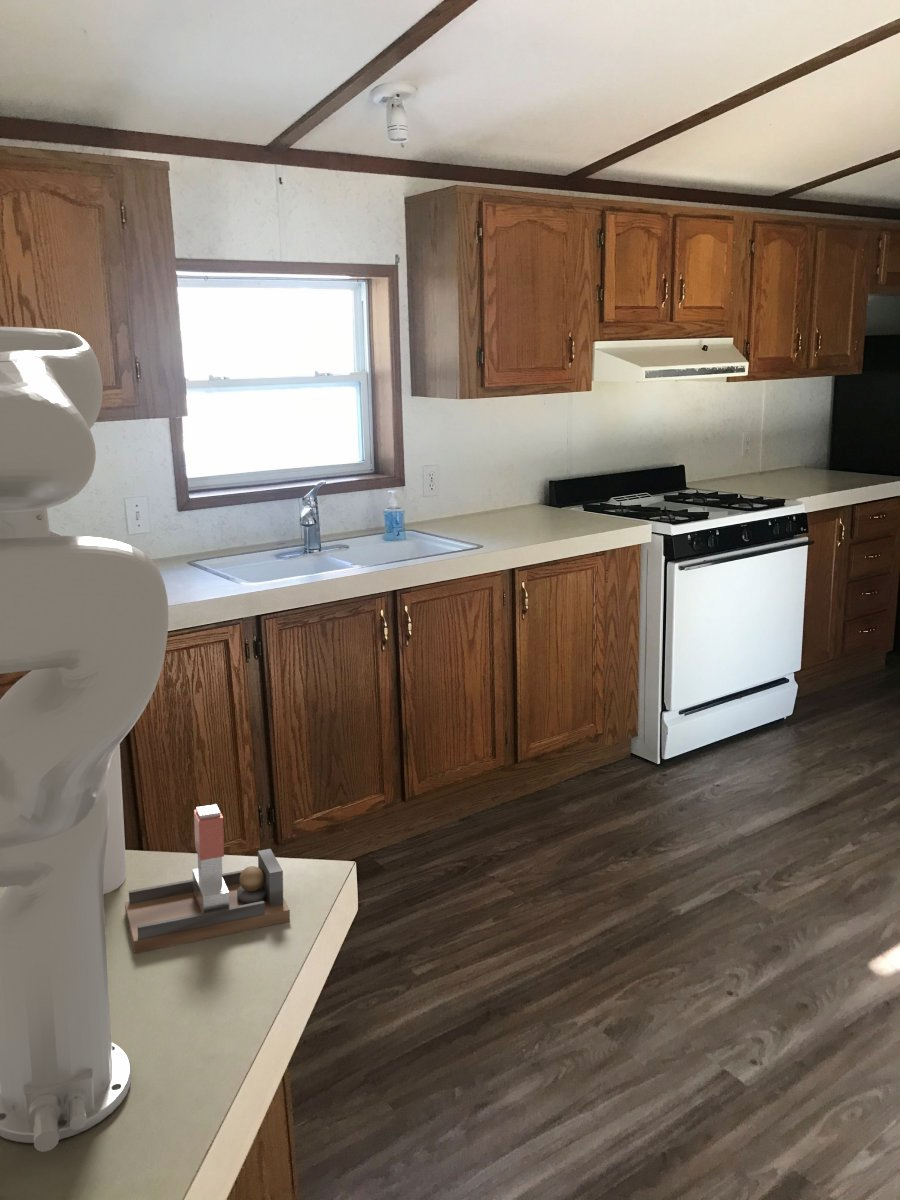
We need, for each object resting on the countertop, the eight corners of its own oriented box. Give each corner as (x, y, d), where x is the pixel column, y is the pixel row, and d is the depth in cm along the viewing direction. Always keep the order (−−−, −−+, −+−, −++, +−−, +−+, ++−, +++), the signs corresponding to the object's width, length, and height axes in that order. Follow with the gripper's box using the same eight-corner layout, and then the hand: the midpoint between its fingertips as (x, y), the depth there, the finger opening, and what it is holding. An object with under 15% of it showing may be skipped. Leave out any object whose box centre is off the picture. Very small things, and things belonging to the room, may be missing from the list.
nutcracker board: (289, 921, 117) (289, 876, 116) (134, 953, 110) (132, 905, 109) (271, 885, 125) (270, 843, 124) (125, 913, 118) (123, 868, 117)
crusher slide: (229, 915, 115) (227, 820, 112) (203, 920, 114) (200, 824, 111) (217, 886, 121) (215, 796, 118) (193, 891, 120) (190, 800, 117)
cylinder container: (33, 894, 122) (16, 665, 115) (74, 858, 131) (60, 644, 124) (102, 903, 120) (89, 671, 113) (139, 866, 129) (129, 649, 122)
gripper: (-117, 466, 88) (-99, 647, 92) (85, 463, 95) (95, 632, 99) (-109, 458, 95) (-92, 628, 99) (80, 457, 102) (89, 615, 106)
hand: (2, 630), depth 99 cm, fingers open, 9 cm apart
